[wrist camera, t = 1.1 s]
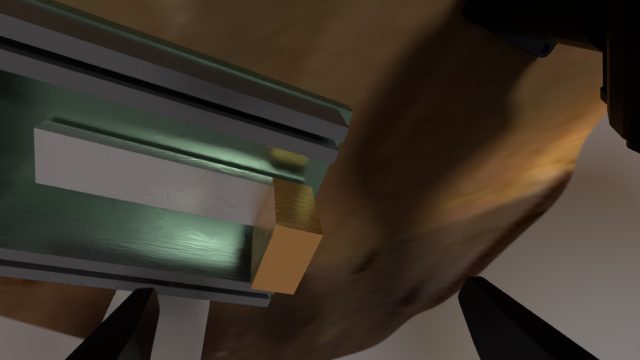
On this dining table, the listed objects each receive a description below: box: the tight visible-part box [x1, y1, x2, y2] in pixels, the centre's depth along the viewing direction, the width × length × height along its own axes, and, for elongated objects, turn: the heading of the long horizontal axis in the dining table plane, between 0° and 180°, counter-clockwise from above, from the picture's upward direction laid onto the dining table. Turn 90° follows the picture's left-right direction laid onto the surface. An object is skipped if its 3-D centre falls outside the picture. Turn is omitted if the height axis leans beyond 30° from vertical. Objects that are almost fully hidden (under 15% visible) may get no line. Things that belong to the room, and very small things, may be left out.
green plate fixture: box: [0, 0, 354, 307], centre depth 17 cm, size 22×14×6 cm, turn 68°
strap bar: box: [34, 120, 323, 294], centre depth 17 cm, size 14×4×5 cm, turn 68°
